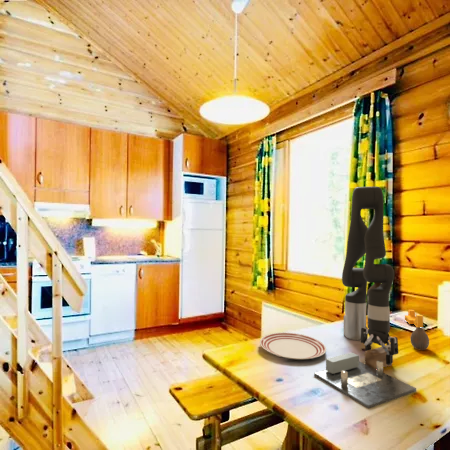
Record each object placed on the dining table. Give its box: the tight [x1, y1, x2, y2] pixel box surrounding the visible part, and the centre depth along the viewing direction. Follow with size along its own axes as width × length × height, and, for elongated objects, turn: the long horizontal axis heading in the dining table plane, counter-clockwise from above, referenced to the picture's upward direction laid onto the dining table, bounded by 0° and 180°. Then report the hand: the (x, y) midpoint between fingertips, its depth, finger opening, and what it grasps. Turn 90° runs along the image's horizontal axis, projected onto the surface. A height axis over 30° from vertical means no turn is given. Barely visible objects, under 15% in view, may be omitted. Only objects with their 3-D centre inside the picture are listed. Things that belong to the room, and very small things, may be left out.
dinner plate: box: [259, 331, 327, 361], centre depth 131 cm, size 28×27×3 cm
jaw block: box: [364, 346, 393, 369], centre depth 117 cm, size 4×10×6 cm, turn 118°
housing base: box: [313, 361, 417, 410], centre depth 103 cm, size 22×22×6 cm
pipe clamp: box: [404, 309, 424, 328], centre depth 169 cm, size 12×4×6 cm, turn 170°
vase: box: [410, 327, 430, 351], centre depth 135 cm, size 7×7×9 cm
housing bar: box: [325, 352, 360, 374], centre depth 111 cm, size 3×13×4 cm, turn 116°
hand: (378, 360), depth 117 cm, fingers open, 8 cm apart
